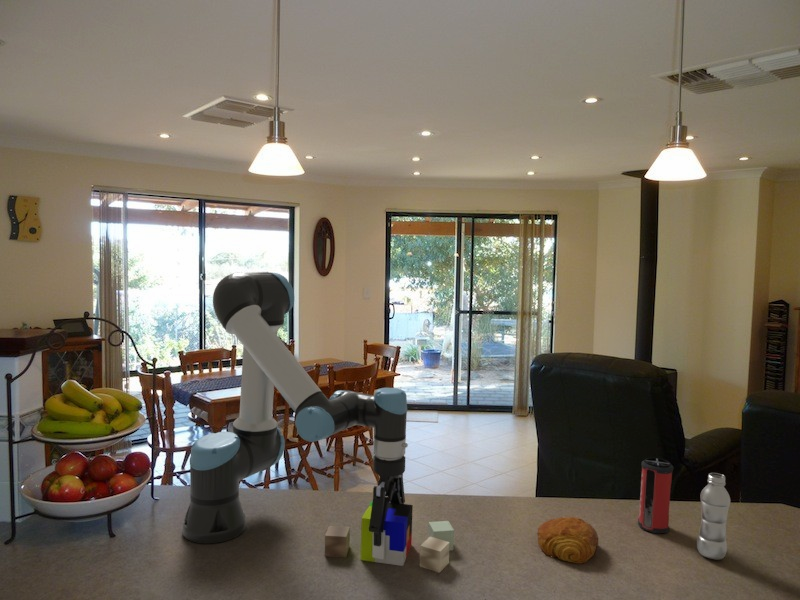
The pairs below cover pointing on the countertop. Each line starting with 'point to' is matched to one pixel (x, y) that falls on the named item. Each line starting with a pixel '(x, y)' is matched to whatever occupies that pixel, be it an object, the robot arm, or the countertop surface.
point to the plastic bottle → (713, 518)
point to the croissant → (568, 539)
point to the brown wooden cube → (337, 541)
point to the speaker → (655, 495)
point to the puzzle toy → (389, 534)
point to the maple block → (434, 554)
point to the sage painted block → (442, 532)
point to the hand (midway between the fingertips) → (387, 546)
